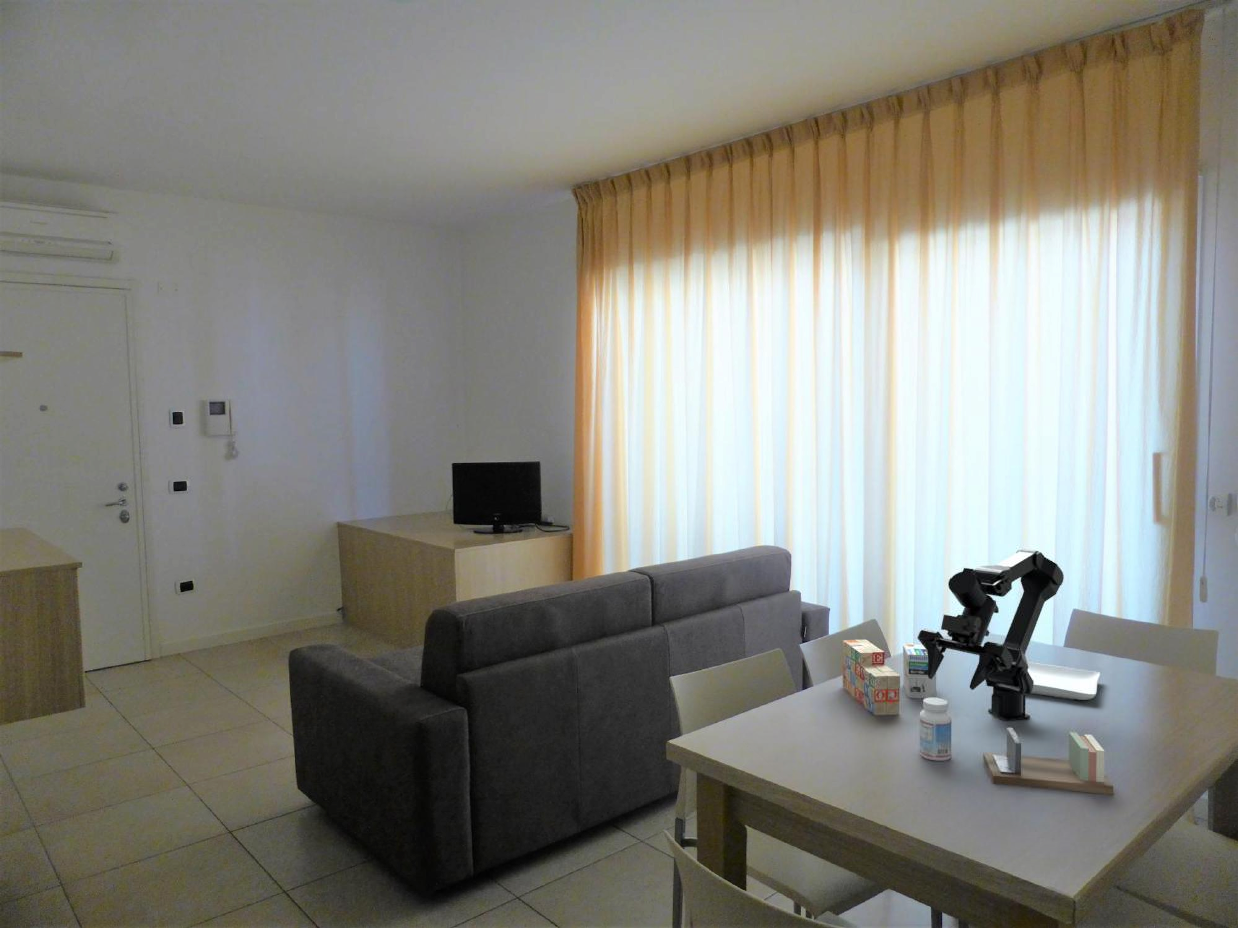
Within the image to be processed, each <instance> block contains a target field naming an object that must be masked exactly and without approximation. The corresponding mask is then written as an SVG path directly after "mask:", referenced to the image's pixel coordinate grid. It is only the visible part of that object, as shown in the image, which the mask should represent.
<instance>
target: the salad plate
mask: <svg viewBox="0 0 1238 928" xmlns="http://www.w3.org/2000/svg"><path fill="white" fill-rule="evenodd" d="M1027 664H1028V673H1029V674H1030V676H1031V678H1032V679H1033V681H1034V684H1033V690H1032V691H1031V694H1034V695H1041V696H1047V697H1053V696H1054V697H1055V698H1060V697H1061V698H1062V699H1067V698H1068V699H1067V700H1074V699H1078V700H1077V701H1080V700H1081V701H1086V700H1087V701H1088V700H1091V699H1093V698H1094V697H1096V695H1097V692H1098V682H1099V680H1100V677H1101V673H1100V672H1098V671H1095V670H1087V669H1079V668H1073V667H1066V666H1061V665H1052V664H1046V663H1037V662H1032V661H1031V662H1030V661H1027ZM1054 697H1053V698H1054ZM1061 698H1060V699H1061Z"/></svg>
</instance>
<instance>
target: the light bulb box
mask: <svg viewBox="0 0 1238 928" xmlns="http://www.w3.org/2000/svg"><path fill="white" fill-rule="evenodd" d="M902 649H903V650H902V655H903V656H902V658H903V661H902V663H903V665H902V674H903V677H902V678H903V680H902V682H903V683H902V685H903V688H904V690H905V692H906V695H907V697H908V698H912V699H913V698H915V699H916V698H917V699H925V698H931V697H934V698H937V673H936V674H935V675H934V677H933V678H932V679H929V678H928V652H927V650H926V648H925V647H924V646H923V645H922V644H912V643H903V644H902Z"/></svg>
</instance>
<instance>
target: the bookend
mask: <svg viewBox="0 0 1238 928" xmlns="http://www.w3.org/2000/svg"><path fill="white" fill-rule="evenodd" d="M1006 755H1007V756H998V755H993V758H994V760H995V762H996V764H997V767H998V769H999V771H1000V773H1005V774H1016V775H1021V756H1022V741H1021V740H1020V738H1019V737H1018V735H1017V733H1016V731H1015V730H1014V728H1013V727H1007V728H1006Z"/></svg>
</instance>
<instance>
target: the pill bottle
mask: <svg viewBox="0 0 1238 928" xmlns="http://www.w3.org/2000/svg"><path fill="white" fill-rule="evenodd" d="M922 702H923V703H922V706H923V707H922V708H923V709H922V710H921V711H920V713H919V753H920V756H922V758H925V759H927V760H930V761H934V762H935V761H938V762H941V761H942V762H944V761H948V760H950V759H951V757H952V716H951V714H950V712H947V711H948V709H949V702H948V700H946V699H945V698H940V697H936V698H934V697H931V698H923V701H922Z"/></svg>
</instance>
